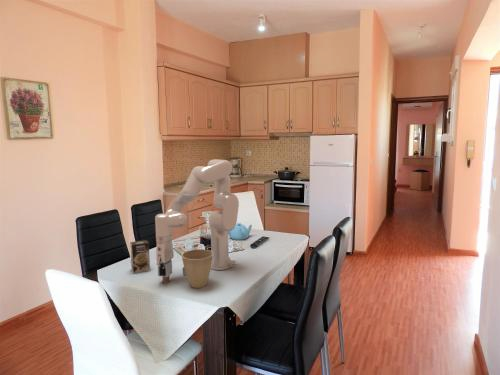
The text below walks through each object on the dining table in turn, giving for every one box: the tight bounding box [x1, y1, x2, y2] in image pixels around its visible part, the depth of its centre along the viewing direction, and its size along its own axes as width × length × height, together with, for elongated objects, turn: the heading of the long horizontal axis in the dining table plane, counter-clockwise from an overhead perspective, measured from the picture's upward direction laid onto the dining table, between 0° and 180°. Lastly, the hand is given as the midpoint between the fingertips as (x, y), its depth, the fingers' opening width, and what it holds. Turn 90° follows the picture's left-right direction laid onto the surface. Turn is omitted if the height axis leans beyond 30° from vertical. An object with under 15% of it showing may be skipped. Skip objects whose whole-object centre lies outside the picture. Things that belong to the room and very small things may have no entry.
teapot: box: [227, 222, 253, 241], centre depth 260 cm, size 15×15×11 cm
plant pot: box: [181, 248, 213, 289], centre depth 177 cm, size 15×15×16 cm
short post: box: [182, 266, 187, 276], centre depth 193 cm, size 3×3×4 cm
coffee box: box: [129, 239, 151, 274], centre depth 199 cm, size 9×6×16 cm
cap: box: [157, 260, 173, 277], centre depth 183 cm, size 5×5×7 cm
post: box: [161, 275, 171, 283], centre depth 183 cm, size 3×3×7 cm
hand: (165, 273), depth 183 cm, fingers closed on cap, 5 cm apart
